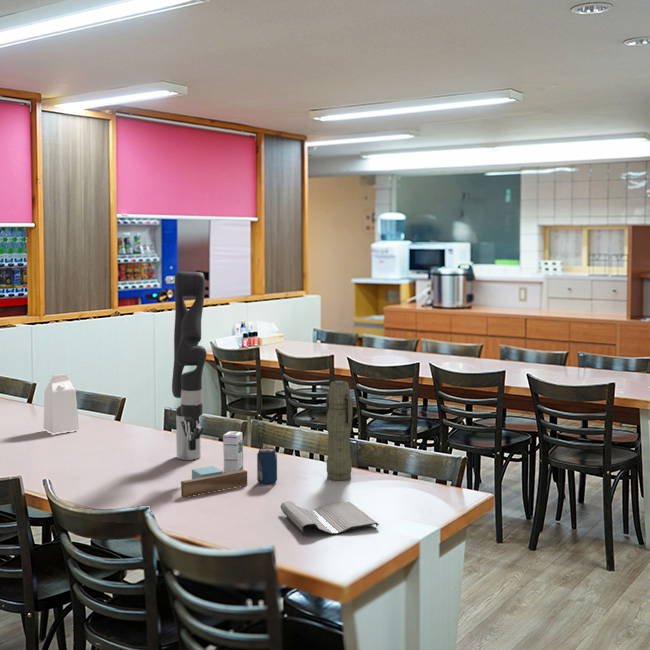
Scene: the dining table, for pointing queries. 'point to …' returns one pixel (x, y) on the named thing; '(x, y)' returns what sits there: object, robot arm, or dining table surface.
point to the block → (205, 472)
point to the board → (213, 483)
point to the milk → (60, 405)
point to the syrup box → (233, 451)
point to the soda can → (267, 466)
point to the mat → (328, 516)
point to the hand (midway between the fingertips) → (192, 449)
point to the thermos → (339, 431)
